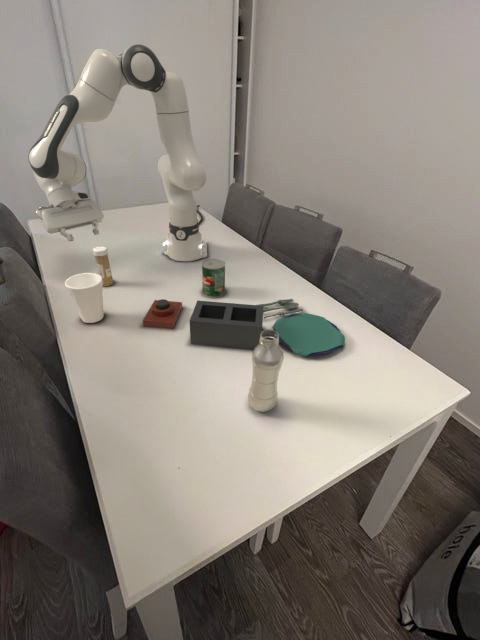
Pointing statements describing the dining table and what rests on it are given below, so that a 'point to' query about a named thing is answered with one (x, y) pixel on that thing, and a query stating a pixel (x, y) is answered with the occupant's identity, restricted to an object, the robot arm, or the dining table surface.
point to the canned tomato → (213, 277)
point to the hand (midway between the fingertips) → (84, 237)
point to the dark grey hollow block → (226, 324)
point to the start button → (162, 304)
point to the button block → (163, 315)
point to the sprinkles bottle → (103, 265)
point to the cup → (87, 295)
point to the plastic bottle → (265, 371)
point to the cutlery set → (305, 331)
